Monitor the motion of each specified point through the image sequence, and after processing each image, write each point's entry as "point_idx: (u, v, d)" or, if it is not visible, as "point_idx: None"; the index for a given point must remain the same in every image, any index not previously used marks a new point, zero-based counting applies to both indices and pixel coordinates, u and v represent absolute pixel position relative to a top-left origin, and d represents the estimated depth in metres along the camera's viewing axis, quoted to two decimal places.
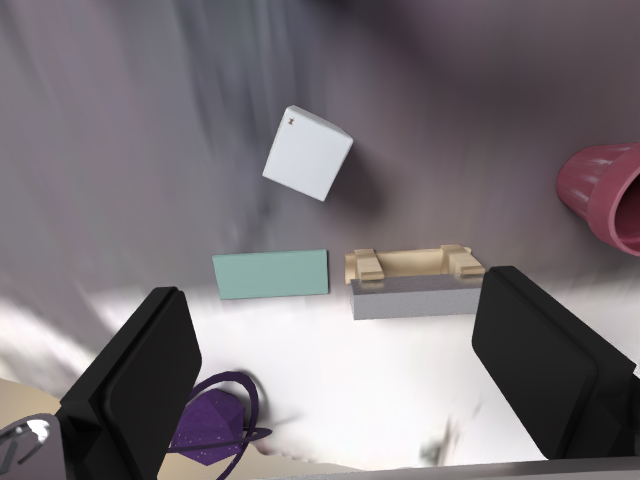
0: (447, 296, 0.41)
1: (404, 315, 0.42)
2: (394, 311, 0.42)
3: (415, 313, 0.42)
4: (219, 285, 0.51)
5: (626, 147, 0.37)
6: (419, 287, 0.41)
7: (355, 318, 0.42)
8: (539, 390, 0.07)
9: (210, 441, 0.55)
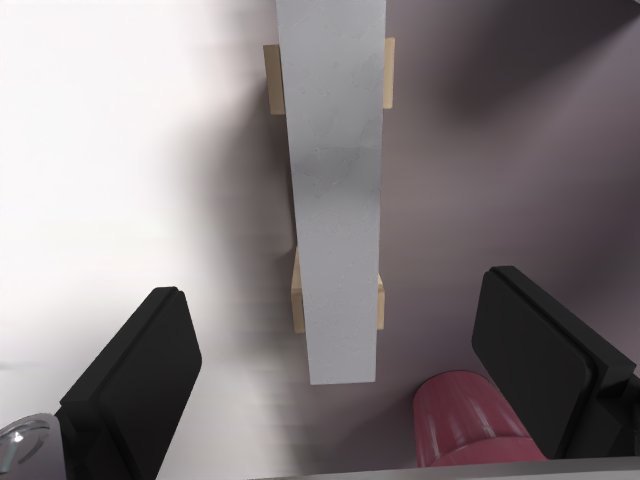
0: (357, 276, 0.16)
1: (298, 172, 0.14)
2: (313, 139, 0.13)
3: (305, 203, 0.14)
4: None
5: None
6: None
7: None
8: (539, 389, 0.07)
9: None
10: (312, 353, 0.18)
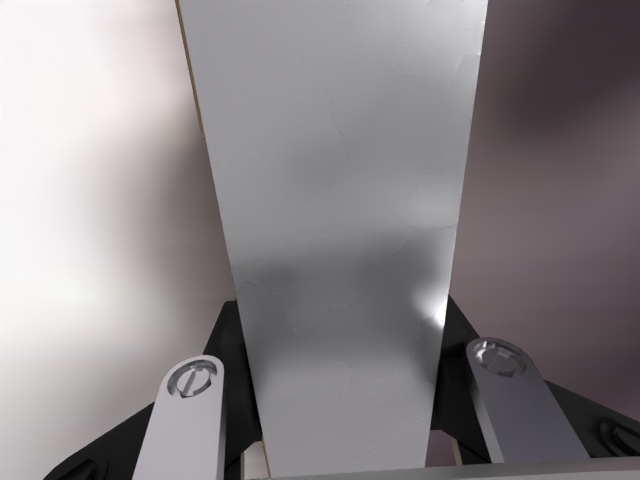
0: (383, 462, 0.08)
1: (251, 285, 0.06)
2: (284, 211, 0.05)
3: (272, 346, 0.06)
4: None
5: None
6: None
7: None
8: None
9: None
10: None
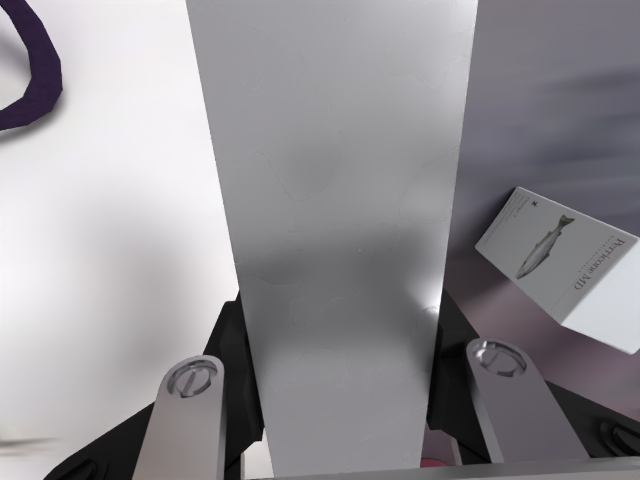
0: (381, 451, 0.08)
1: (253, 277, 0.06)
2: (285, 205, 0.05)
3: (273, 336, 0.07)
4: None
5: None
6: None
7: None
8: None
9: None
10: None
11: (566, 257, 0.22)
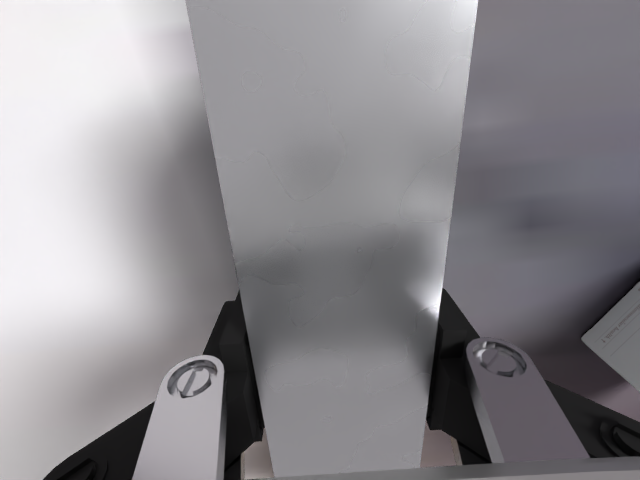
0: (381, 451, 0.08)
1: (253, 277, 0.06)
2: (285, 205, 0.05)
3: (273, 337, 0.07)
4: None
5: None
6: None
7: None
8: None
9: None
10: None
11: None
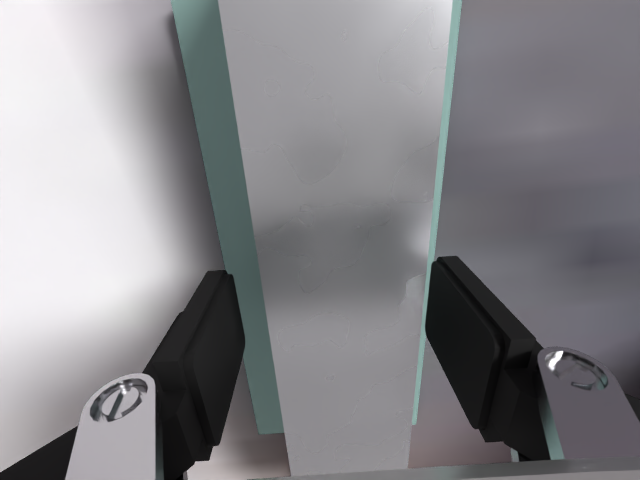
0: (378, 408, 0.09)
1: (269, 250, 0.07)
2: (297, 188, 0.07)
3: (285, 302, 0.08)
4: None
5: None
6: None
7: None
8: (467, 366, 0.08)
9: None
10: None
11: None
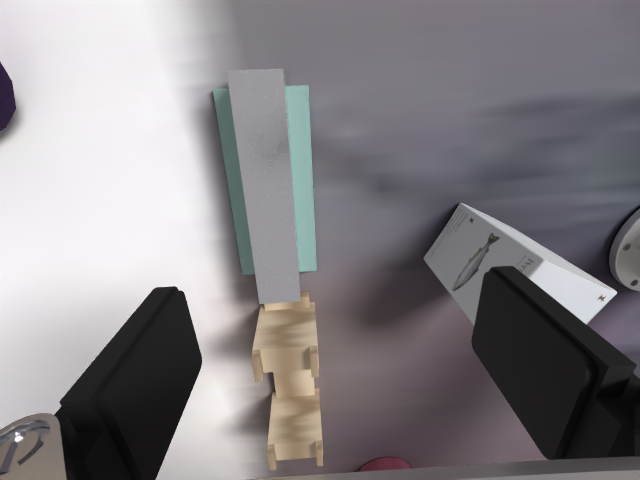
0: (282, 229, 0.27)
1: (244, 167, 0.25)
2: (251, 149, 0.24)
3: (249, 185, 0.25)
4: None
5: None
6: (292, 186, 0.27)
7: (230, 73, 0.22)
8: (539, 389, 0.07)
9: None
10: (259, 281, 0.29)
11: None
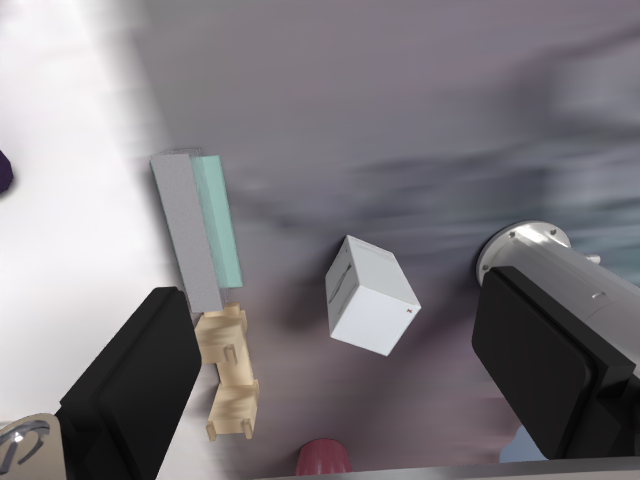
0: (202, 259, 0.37)
1: (169, 217, 0.35)
2: (173, 205, 0.35)
3: (174, 229, 0.36)
4: None
5: None
6: (208, 228, 0.37)
7: (153, 157, 0.32)
8: (539, 390, 0.07)
9: None
10: (190, 296, 0.39)
11: (341, 292, 0.34)
